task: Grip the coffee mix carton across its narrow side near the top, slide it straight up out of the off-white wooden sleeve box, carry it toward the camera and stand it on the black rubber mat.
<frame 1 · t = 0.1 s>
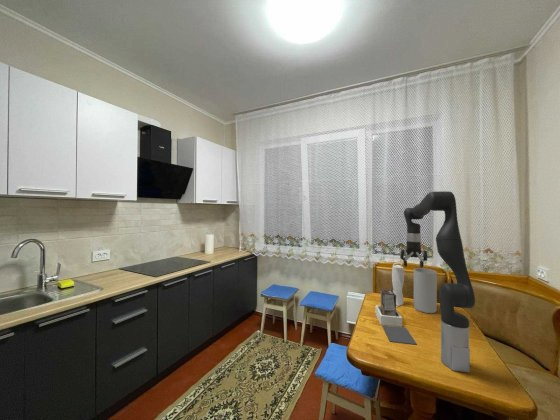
hand: (413, 267, 137), 29 cm above the table, fingers open, 8 cm apart
coffee box: (388, 320, 131), resting in sleeve box
rubber mat: (398, 334, 115), on the table
cylinder vase: (424, 309, 145), on the table
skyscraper: (397, 304, 153), on the table
sleeve box: (388, 319, 131), on the table
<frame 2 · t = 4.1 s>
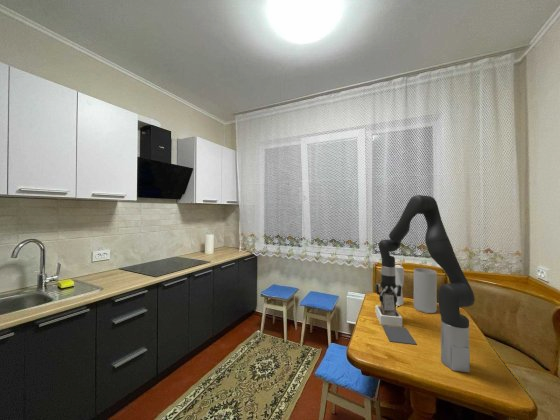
hand: (388, 302, 131), 10 cm above the table, fingers closed on coffee box, 6 cm apart
coffee box: (388, 320, 131), resting in sleeve box, touching gripper
everything else where it was.
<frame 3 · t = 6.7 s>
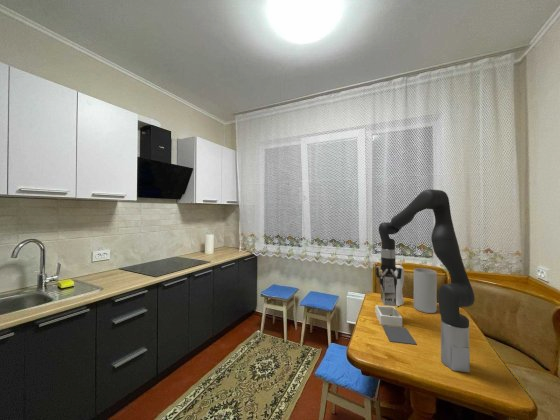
hand: (388, 285, 131), 20 cm above the table, fingers closed on coffee box, 6 cm apart
coffee box: (388, 303, 131), point 10 cm above the table, touching gripper
everything else where it was.
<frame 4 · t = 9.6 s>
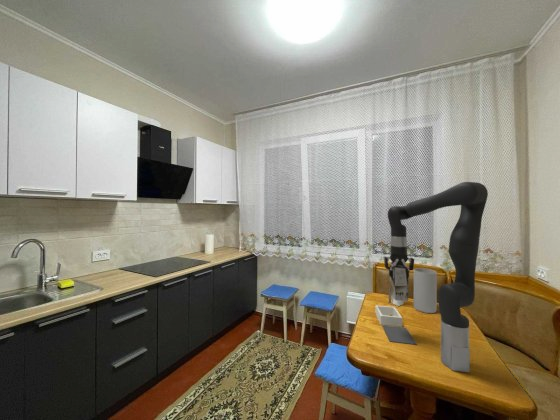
hand: (398, 277, 115), 29 cm above the table, fingers closed on coffee box, 6 cm apart
coffee box: (398, 298, 115), point 19 cm above the table, touching gripper
everything else where it was.
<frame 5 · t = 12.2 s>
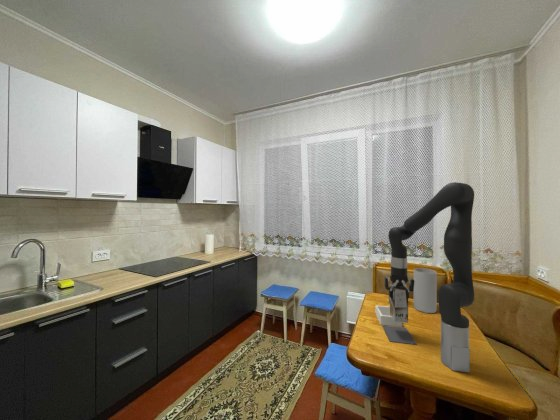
hand: (398, 298, 115), 19 cm above the table, fingers closed on coffee box, 6 cm apart
coffee box: (398, 318, 115), point 8 cm above the table, touching gripper
everything else where it was.
when the fingers open (12 cm above the table, at t = 14.9 s): coffee box drops 1 cm, resting on rubber mat.
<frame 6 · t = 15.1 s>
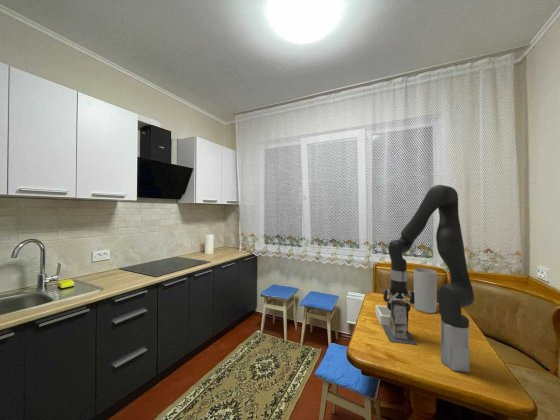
hand: (398, 310, 115), 13 cm above the table, fingers open, 8 cm apart
coffee box: (398, 334, 115), resting on rubber mat
everything else where it was.
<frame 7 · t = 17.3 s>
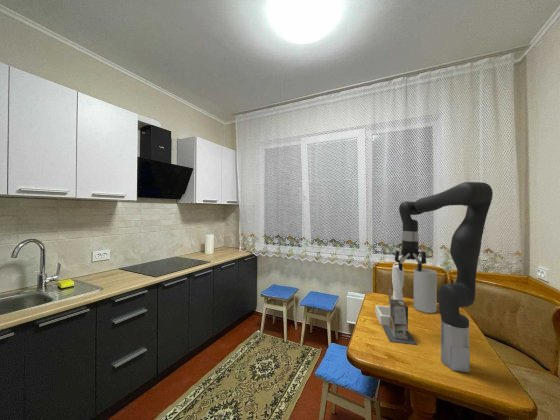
hand: (409, 270, 117), 32 cm above the table, fingers open, 8 cm apart
nothing on the table moved.
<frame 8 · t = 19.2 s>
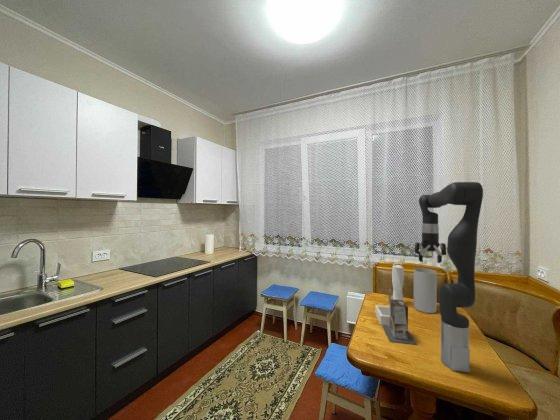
hand: (430, 262, 120), 36 cm above the table, fingers open, 8 cm apart
nothing on the table moved.
at the end: coffee box inside the target area (0.1 cm from its centre), resting on rubber mat; coffee box tilted 0°; the gripper is holding nothing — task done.
